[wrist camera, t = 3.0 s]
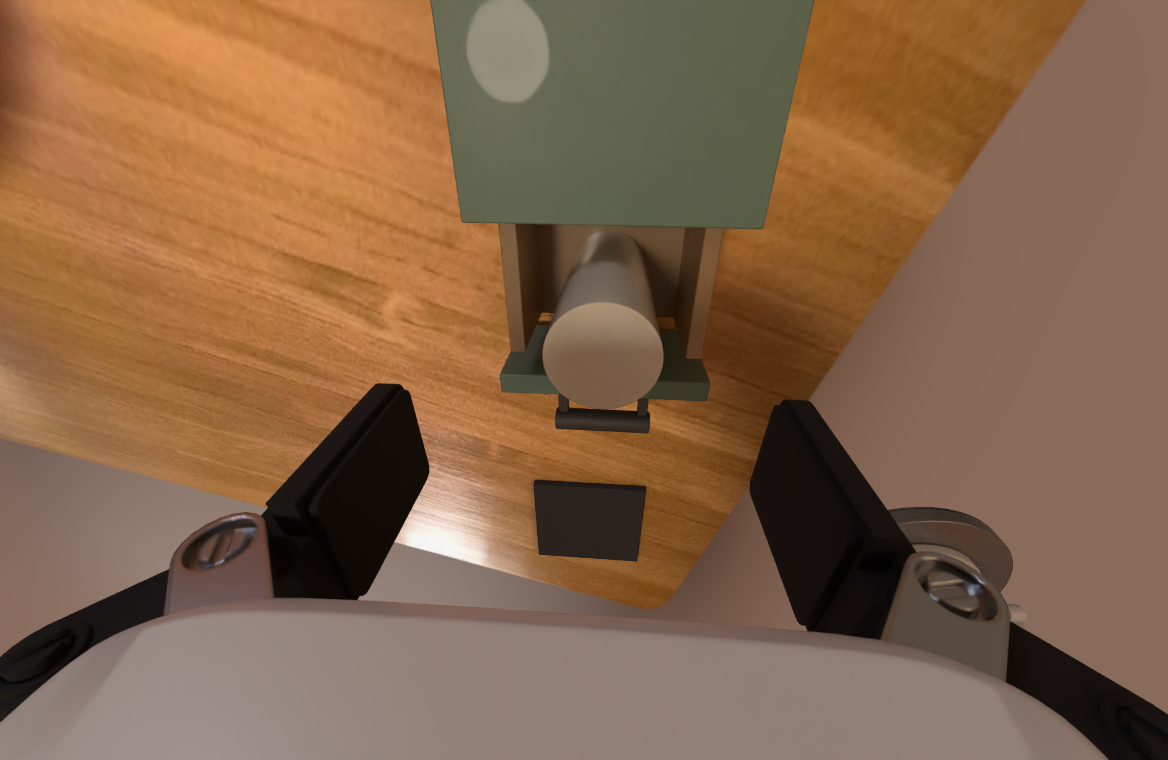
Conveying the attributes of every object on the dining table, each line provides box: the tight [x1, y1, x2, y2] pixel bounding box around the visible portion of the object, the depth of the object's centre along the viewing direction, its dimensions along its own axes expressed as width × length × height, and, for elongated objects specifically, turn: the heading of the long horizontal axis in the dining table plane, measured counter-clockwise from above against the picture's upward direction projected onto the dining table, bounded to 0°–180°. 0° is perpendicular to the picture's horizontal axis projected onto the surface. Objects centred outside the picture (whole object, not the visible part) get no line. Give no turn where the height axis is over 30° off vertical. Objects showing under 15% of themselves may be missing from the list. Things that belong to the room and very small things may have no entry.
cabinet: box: [430, 0, 814, 229], centre depth 17 cm, size 15×13×9 cm
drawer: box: [499, 223, 724, 433], centre depth 23 cm, size 18×11×7 cm, turn 0°
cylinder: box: [542, 231, 664, 409], centre depth 20 cm, size 4×4×12 cm
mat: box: [534, 480, 646, 561], centre depth 39 cm, size 10×10×1 cm
